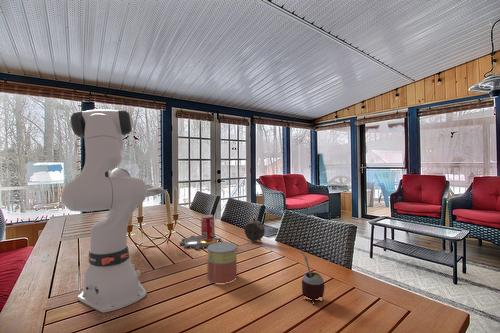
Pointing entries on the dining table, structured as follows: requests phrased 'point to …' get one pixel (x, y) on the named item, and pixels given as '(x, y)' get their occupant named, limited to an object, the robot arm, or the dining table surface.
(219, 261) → the canned food
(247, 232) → the alarm clock
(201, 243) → the sprocket plate
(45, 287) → the dining table surface
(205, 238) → the soda can
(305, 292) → the mate gourd
